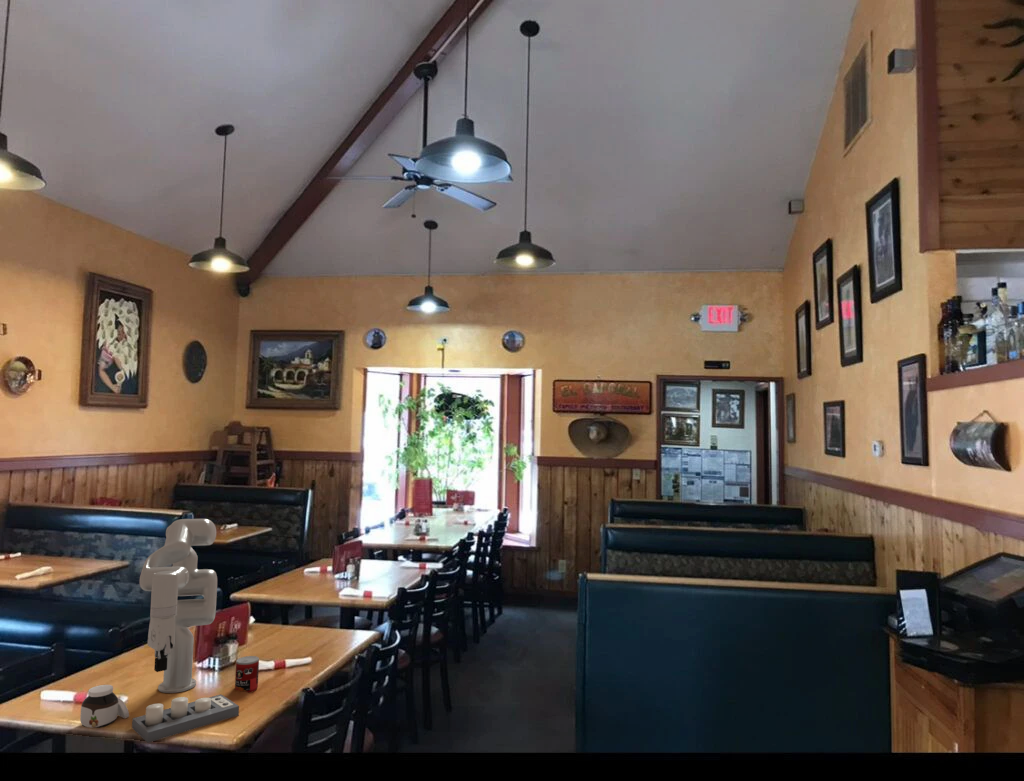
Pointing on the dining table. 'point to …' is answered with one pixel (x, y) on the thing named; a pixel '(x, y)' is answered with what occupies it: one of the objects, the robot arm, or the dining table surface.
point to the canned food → (247, 674)
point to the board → (186, 719)
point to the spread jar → (102, 707)
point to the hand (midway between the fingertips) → (160, 670)
